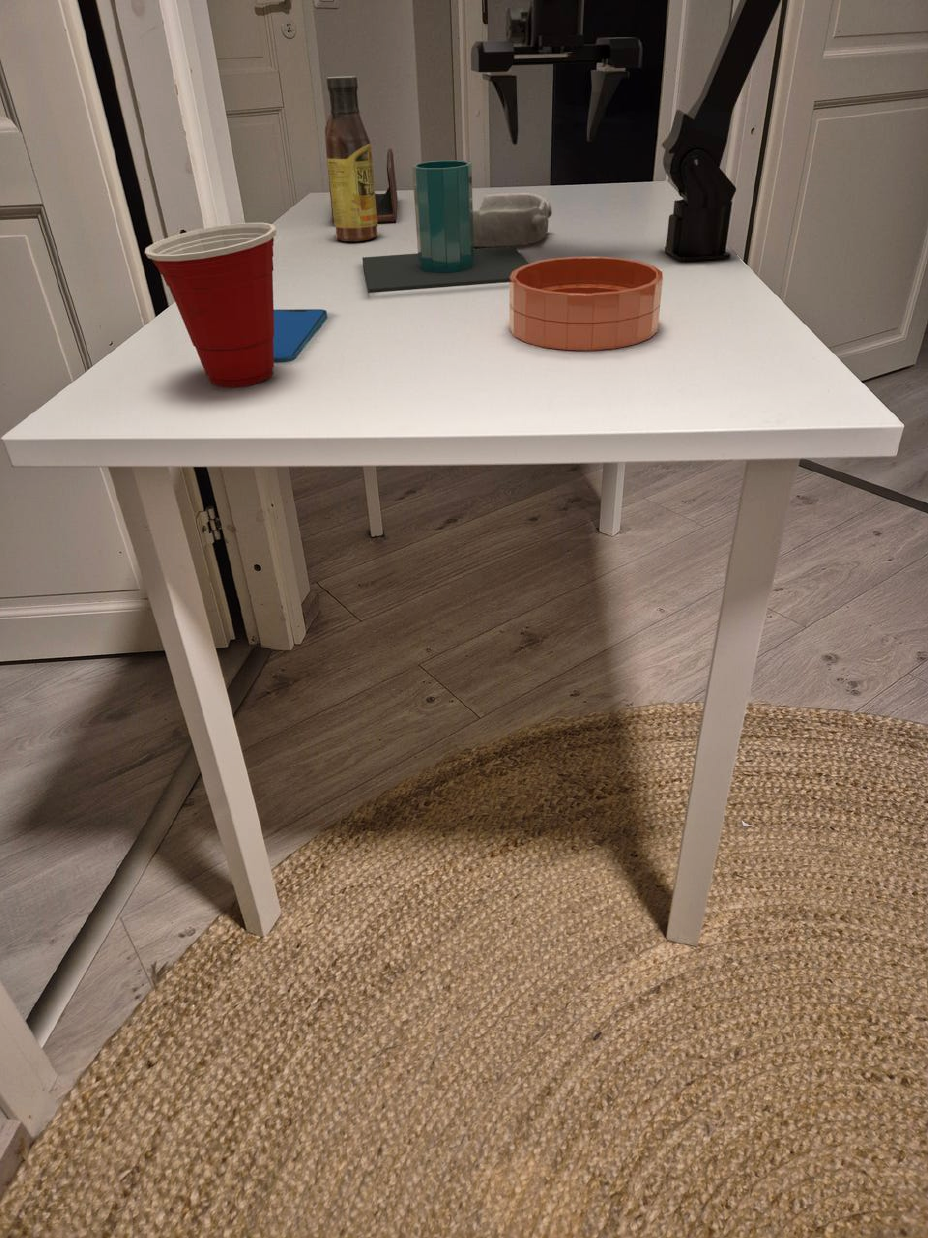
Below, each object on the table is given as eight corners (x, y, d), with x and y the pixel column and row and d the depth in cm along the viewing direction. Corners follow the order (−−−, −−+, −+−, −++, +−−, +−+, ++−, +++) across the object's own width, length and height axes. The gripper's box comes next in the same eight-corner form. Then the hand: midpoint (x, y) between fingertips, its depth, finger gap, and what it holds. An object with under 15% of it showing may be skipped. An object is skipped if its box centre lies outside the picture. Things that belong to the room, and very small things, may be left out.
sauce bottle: (371, 243, 118) (355, 76, 106) (330, 243, 119) (309, 78, 107) (384, 233, 123) (370, 73, 111) (344, 233, 124) (326, 75, 112)
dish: (435, 248, 113) (433, 208, 111) (472, 227, 124) (471, 190, 121) (535, 253, 109) (536, 212, 106) (565, 231, 119) (566, 193, 116)
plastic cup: (189, 360, 79) (157, 223, 72) (303, 352, 79) (282, 216, 72) (166, 402, 70) (126, 251, 63) (293, 393, 70) (268, 242, 63)
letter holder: (332, 225, 129) (320, 121, 121) (341, 203, 145) (330, 109, 137) (396, 222, 129) (388, 117, 121) (398, 200, 145) (391, 106, 137)
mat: (514, 254, 109) (514, 245, 108) (540, 284, 96) (540, 275, 96) (363, 265, 107) (362, 257, 107) (369, 297, 94) (368, 288, 94)
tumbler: (484, 264, 101) (482, 162, 95) (447, 275, 97) (442, 170, 91) (446, 257, 105) (441, 158, 98) (408, 267, 101) (401, 166, 95)
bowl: (630, 307, 87) (635, 252, 84) (678, 349, 76) (685, 287, 73) (498, 318, 86) (498, 262, 83) (526, 363, 75) (527, 300, 71)
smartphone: (216, 358, 78) (262, 309, 90) (218, 368, 78) (264, 318, 90) (292, 358, 77) (329, 308, 89) (294, 368, 78) (330, 318, 90)
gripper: (618, -22, 97) (607, 132, 106) (461, -19, 95) (464, 138, 104) (651, -26, 88) (635, 142, 97) (479, -23, 86) (480, 148, 95)
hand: (552, 142), depth 98 cm, fingers open, 9 cm apart
